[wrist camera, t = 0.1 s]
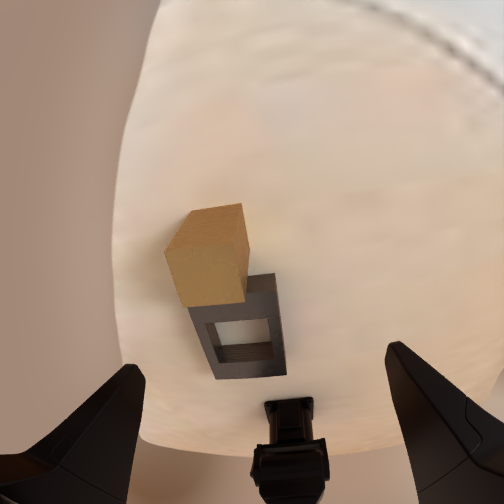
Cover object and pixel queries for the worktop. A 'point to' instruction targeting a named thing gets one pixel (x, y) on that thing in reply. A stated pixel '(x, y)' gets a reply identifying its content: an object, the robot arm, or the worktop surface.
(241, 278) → the brass block
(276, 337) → the steel rail
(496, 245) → the worktop surface
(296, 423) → the robot arm
